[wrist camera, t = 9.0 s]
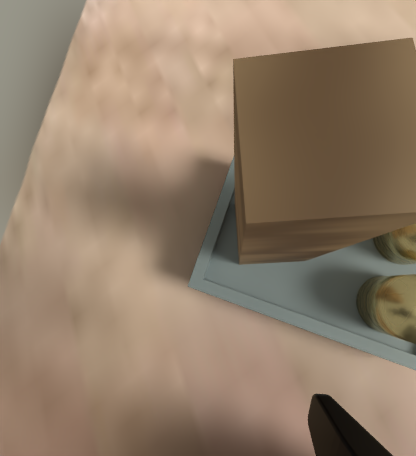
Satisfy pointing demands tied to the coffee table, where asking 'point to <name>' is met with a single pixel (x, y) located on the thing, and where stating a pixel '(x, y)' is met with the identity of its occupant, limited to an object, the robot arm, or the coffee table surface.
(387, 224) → the post
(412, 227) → the bushing
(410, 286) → the bushing
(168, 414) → the coffee table surface
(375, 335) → the shallow rimmed tray
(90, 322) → the coffee table surface
